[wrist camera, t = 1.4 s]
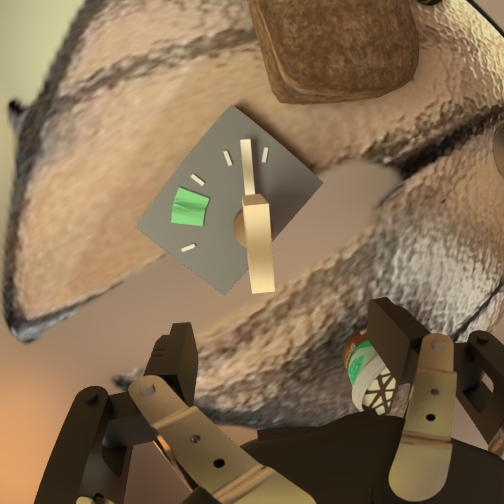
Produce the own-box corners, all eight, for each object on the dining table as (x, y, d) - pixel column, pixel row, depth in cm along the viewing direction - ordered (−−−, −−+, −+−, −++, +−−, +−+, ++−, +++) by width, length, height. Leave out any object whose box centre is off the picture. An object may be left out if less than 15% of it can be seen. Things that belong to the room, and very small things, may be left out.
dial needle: (273, 253, 33) (288, 289, 24) (236, 257, 33) (238, 294, 24) (264, 138, 29) (277, 128, 20) (225, 141, 29) (222, 132, 20)
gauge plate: (319, 181, 33) (324, 182, 31) (225, 290, 36) (224, 296, 34) (231, 106, 30) (231, 103, 28) (138, 224, 33) (134, 227, 31)
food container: (336, 320, 38) (363, 364, 29) (376, 312, 38) (410, 351, 29) (332, 385, 42) (351, 431, 32) (368, 377, 42) (392, 419, 33)
